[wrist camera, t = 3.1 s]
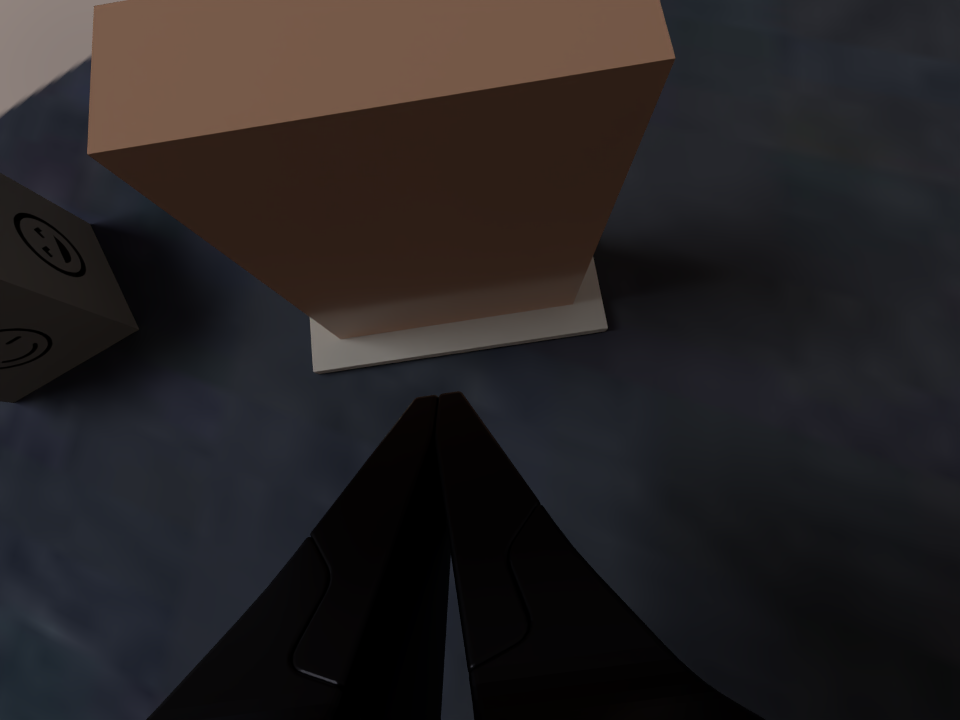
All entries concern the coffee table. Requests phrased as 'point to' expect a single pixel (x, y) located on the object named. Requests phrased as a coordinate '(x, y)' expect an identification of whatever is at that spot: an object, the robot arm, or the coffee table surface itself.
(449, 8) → the tile
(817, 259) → the coffee table surface
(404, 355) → the mat
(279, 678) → the robot arm
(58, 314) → the dice cube
